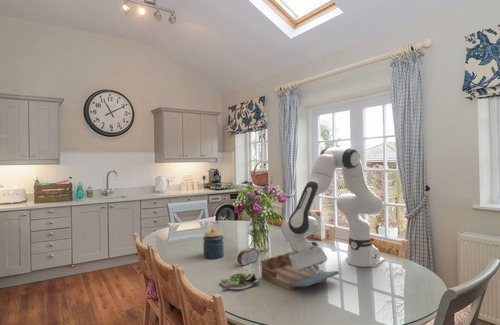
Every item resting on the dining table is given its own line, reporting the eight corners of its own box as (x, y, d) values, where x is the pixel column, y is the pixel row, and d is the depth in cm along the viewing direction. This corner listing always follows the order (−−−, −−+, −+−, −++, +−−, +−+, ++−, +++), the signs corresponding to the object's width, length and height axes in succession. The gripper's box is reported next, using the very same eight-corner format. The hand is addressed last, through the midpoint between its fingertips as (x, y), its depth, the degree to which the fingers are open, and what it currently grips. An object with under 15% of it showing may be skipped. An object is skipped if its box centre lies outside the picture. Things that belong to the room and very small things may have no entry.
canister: (206, 260, 189) (205, 231, 189) (201, 255, 201) (200, 227, 201) (227, 257, 194) (226, 229, 194) (220, 252, 206) (219, 225, 206)
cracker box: (305, 237, 237) (304, 210, 236) (310, 236, 241) (309, 208, 240) (321, 240, 226) (320, 211, 226) (325, 239, 230) (325, 210, 230)
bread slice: (255, 259, 188) (255, 246, 188) (259, 261, 186) (259, 246, 186) (237, 266, 177) (236, 251, 177) (240, 267, 175) (240, 252, 175)
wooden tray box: (295, 266, 174) (294, 250, 174) (323, 277, 158) (323, 259, 158) (261, 277, 159) (261, 260, 159) (289, 290, 143) (288, 270, 143)
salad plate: (234, 297, 139) (234, 286, 139) (210, 285, 152) (210, 276, 152) (264, 284, 152) (264, 274, 152) (240, 274, 165) (240, 266, 165)
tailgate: (322, 271, 157) (338, 271, 149) (323, 275, 156) (339, 275, 149) (291, 283, 144) (306, 283, 136) (292, 288, 143) (307, 288, 136)
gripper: (290, 250, 144) (306, 277, 137) (319, 241, 157) (335, 266, 149) (283, 257, 148) (299, 284, 140) (312, 248, 160) (328, 272, 153)
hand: (318, 274), depth 145 cm, fingers closed
